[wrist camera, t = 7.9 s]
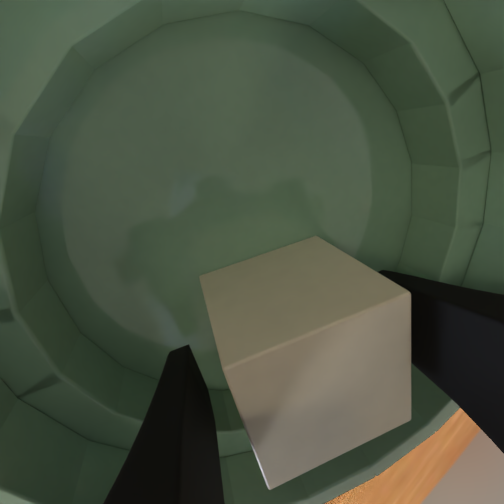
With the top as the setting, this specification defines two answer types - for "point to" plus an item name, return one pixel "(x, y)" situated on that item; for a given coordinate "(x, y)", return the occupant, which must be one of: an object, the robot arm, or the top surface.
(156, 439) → the robot arm
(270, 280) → the cream cube
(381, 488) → the top surface
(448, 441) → the top surface
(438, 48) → the bowl
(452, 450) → the top surface
